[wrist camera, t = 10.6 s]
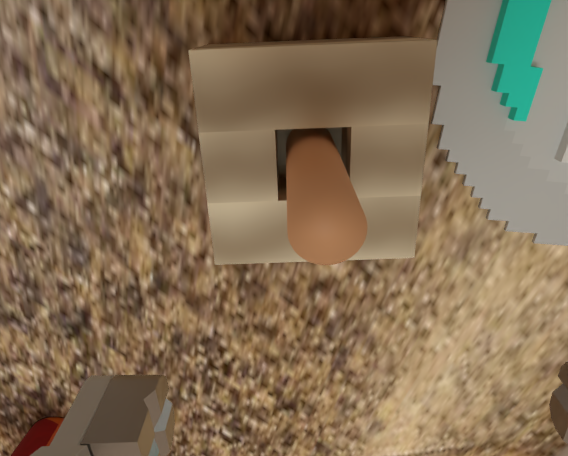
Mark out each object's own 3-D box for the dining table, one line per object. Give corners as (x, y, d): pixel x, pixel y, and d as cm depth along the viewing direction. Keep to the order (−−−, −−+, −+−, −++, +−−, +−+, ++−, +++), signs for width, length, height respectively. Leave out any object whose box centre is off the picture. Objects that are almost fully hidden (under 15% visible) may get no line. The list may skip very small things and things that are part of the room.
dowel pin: (284, 123, 26) (285, 194, 15) (333, 121, 26) (369, 191, 15) (286, 170, 28) (288, 266, 17) (333, 168, 28) (365, 263, 17)
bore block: (207, 44, 26) (188, 50, 21) (405, 36, 26) (437, 39, 21) (226, 222, 31) (215, 264, 26) (391, 216, 31) (414, 257, 26)
